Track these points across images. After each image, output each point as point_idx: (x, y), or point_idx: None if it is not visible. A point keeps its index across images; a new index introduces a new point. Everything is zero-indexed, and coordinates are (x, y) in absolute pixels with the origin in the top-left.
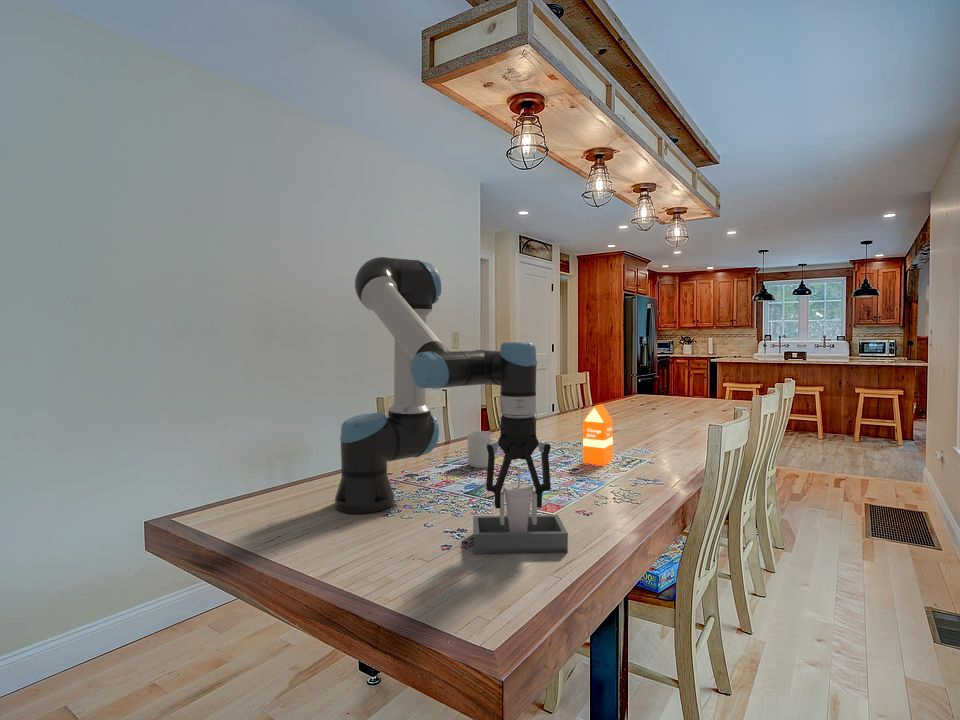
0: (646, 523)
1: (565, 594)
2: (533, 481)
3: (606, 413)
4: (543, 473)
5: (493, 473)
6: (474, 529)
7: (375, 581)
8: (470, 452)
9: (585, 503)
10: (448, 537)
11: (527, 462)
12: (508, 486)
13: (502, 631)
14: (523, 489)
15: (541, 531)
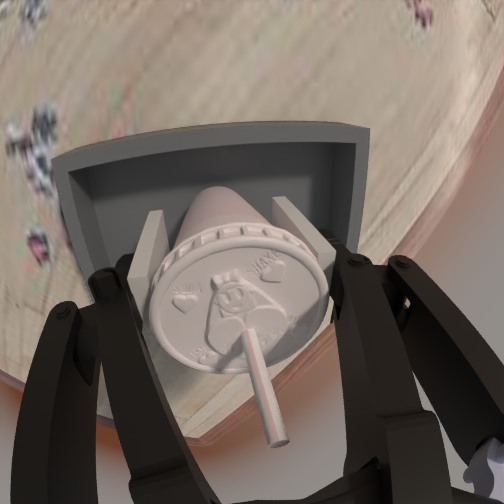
0: (490, 110)
1: (281, 377)
2: (339, 352)
3: None
4: (416, 349)
5: (95, 429)
6: (85, 279)
7: (22, 363)
8: None
9: None
10: (24, 187)
11: (344, 473)
12: (180, 312)
13: (202, 426)
14: (268, 350)
15: (294, 149)
